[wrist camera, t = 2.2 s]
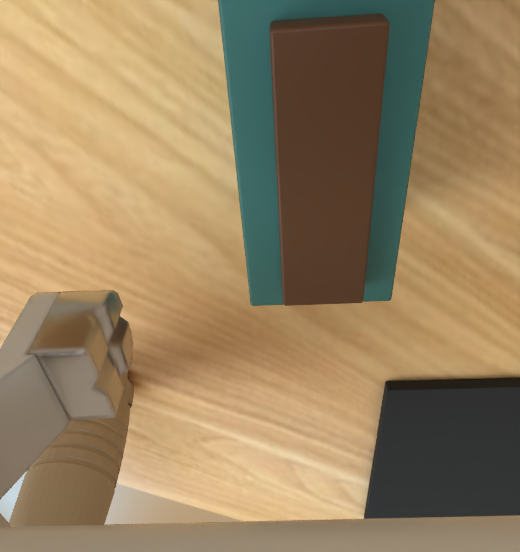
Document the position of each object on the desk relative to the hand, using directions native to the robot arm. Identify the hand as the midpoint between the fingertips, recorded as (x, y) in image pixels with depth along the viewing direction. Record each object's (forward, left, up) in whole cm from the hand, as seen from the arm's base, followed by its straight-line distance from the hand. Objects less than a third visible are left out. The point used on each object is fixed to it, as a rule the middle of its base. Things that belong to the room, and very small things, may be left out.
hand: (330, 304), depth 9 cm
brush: (0, 0, -10) cm, 10 cm away
